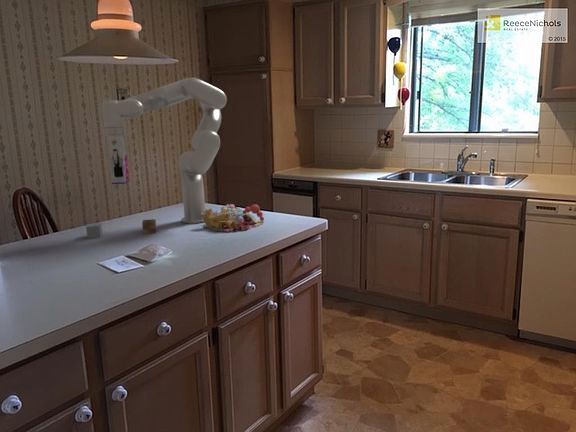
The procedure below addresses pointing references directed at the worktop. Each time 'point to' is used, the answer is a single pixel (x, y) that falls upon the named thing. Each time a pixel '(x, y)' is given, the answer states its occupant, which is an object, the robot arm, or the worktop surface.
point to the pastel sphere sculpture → (232, 218)
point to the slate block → (94, 230)
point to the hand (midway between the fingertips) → (120, 175)
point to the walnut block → (149, 226)
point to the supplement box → (124, 168)
